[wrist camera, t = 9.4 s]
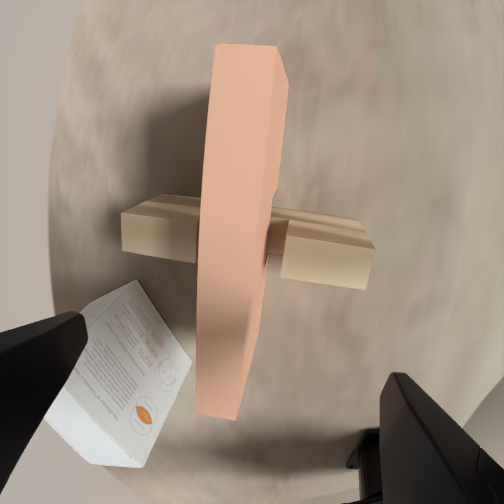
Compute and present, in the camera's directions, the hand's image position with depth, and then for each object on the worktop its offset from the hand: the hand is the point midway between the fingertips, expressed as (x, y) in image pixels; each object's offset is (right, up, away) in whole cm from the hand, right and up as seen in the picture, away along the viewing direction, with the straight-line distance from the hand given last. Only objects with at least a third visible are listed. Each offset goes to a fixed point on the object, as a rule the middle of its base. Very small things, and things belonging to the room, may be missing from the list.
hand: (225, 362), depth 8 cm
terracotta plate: (+1, +5, +11) cm, 12 cm away
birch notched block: (+1, +5, +11) cm, 12 cm away
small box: (-8, -3, +16) cm, 18 cm away
